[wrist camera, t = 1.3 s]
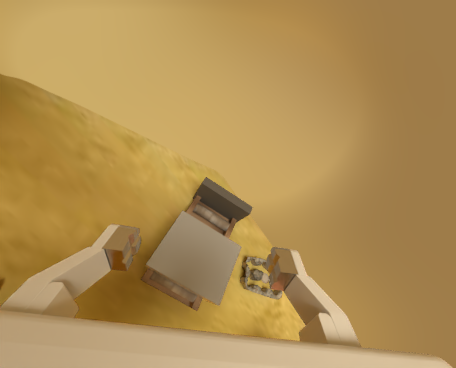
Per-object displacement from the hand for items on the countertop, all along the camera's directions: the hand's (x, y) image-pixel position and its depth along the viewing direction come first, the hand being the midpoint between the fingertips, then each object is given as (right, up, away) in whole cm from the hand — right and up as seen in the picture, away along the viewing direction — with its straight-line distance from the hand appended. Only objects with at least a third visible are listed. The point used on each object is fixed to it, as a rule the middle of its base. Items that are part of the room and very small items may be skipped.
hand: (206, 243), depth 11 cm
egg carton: (+9, -20, +33) cm, 39 cm away
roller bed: (-6, -10, +30) cm, 32 cm away
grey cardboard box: (-7, -12, +25) cm, 28 cm away
